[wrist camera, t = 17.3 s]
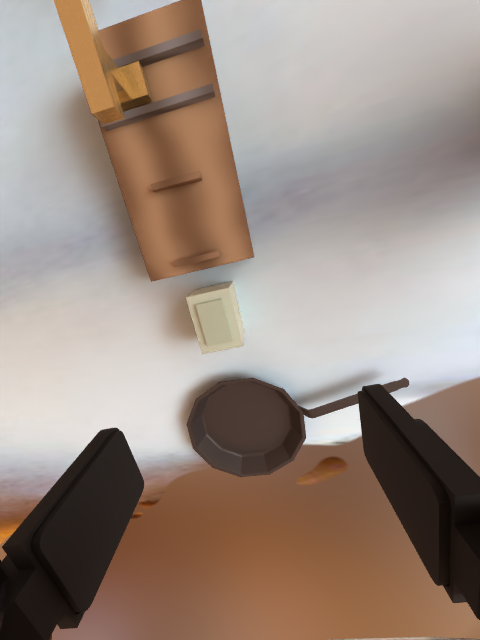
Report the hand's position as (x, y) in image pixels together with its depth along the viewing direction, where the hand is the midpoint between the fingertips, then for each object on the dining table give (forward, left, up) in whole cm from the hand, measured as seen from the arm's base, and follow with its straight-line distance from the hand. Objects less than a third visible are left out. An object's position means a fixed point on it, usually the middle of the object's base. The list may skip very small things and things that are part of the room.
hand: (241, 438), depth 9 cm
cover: (+4, 0, -24) cm, 25 cm away
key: (+7, -23, -19) cm, 31 cm away
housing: (+4, -17, -24) cm, 30 cm away
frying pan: (-2, +17, -25) cm, 30 cm away
